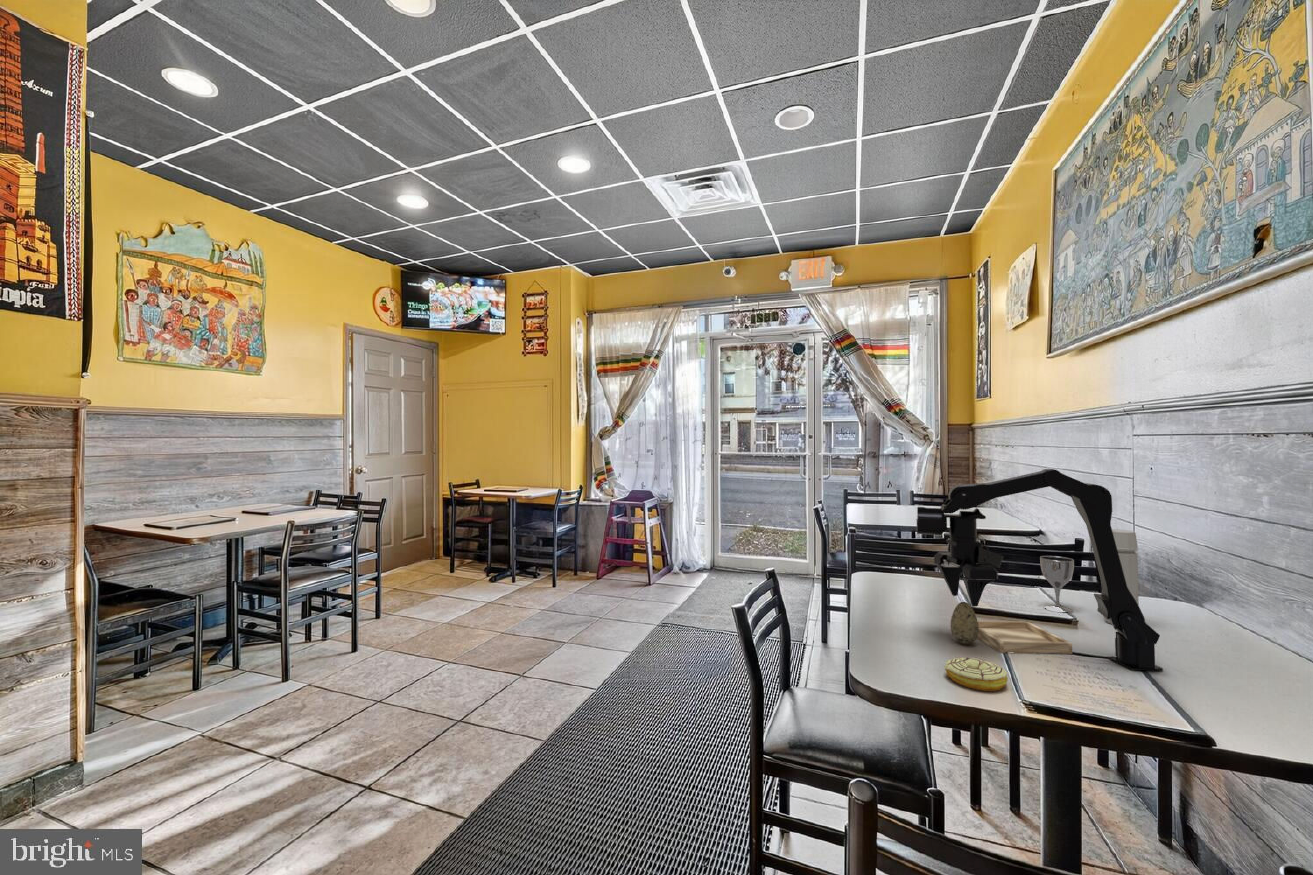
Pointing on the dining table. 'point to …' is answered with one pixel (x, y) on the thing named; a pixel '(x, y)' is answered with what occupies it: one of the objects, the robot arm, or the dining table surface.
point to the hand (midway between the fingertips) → (964, 600)
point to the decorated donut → (976, 674)
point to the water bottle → (1128, 559)
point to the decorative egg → (964, 624)
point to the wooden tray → (1021, 638)
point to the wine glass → (1057, 574)
